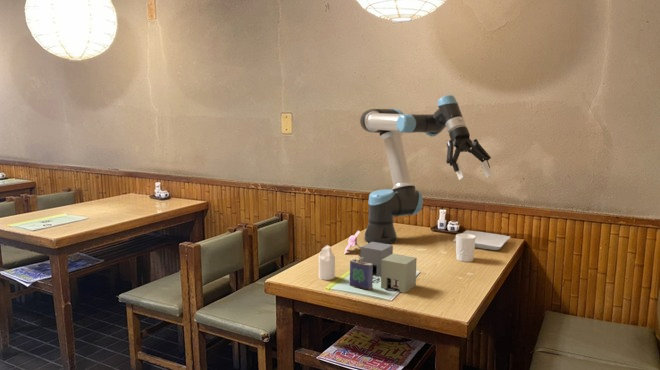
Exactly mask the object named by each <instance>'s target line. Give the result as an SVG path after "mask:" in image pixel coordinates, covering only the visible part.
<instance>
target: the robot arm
mask: <svg viewBox="0 0 660 370" xmlns="http://www.w3.org/2000/svg"><path fill="white" fill-rule="evenodd" d="M436 104H437V107H438V109H437V110H436V111H435V112H434V113H433V114H424V113H423V114H418V113H417V114H416V113H415V114H413V113H412V114H411V113H405V114H404V113H403V111H402V110H401V109H397V108H396V109H395V108H370V109H367V110H365V111H364V112H363V113H362V114H361V115H360V118H359V123H360V127H361V128H362V130H364V131H366V132H367V133H373V134H374V133H375V134H377V133H379V138H380V139H381V140H383V143H384V147H385V152H386V158H387V162H388V167H389V172H390V177H391V181H392V188H391V189H387V188H385V189H377V190H374V191H372V192H370V194H369V195H368V202H367V203H368V222H367V227H366V230H365V233H364V239H363V240H364V241H365V242H367V243H370V242H377V243H383V244H389V245H390V244H394V243H396V242H397V237H398V236H397V233H396V230H395V226H394V218H398V217H399V218H400V217H406V216H407V217H411V216H415V215H417V214H419V213H420V212H421V210H422V209H423V205H424V200H423V195H422V194H423V193H421V191H420V190H417V189H416V186H415V184H413V183H412V181H411V178H410V172H409V169H408V163H407V158H406V154H405V149H404V145H403V139H402V136H403V135H404V134H410V133H411V134H412V133H413V134H414V133H424V134H426V136H429V137H432V138H433V137H436V136H438V135H439V134H440V133H441V132H443V130H444V129H445V128H446V131H447V134H448V136H449V138H450V140H448V141H447V142H446V146H447V152H446V160H445V161H446V164H448V165H449V166H451V167H452V168H453V171H454V172H455V173H456V175H457V178H458V181H461V180H463V179H464V178H465V174H464V172H463V170H462V166H461V164H460V162H459V161H458V160H459V156H460V154H461V153H466V152H468V153H469V154H471V155H473V156H474V157H475V158H476V159H477V160H478V161H480V162H481V163H480V165H481V167H482V169H483V172H484V176H485V177H486V179H490V177H492V176H493V174H492V171H491V166H490V163H489V160H491V159H492V157H491V156H490V154H489V153H488V152H487V151H486V150H485V149H484V147H483V146H482V145H481V144H480V143H479V141H478V139H477V138H475V139H473V140H471V138H470V137H471V136H470V132H469V130H468V127H467V125H466V122H465V119H464V116H463V114H462V111H461V109H460V106H459V102H458V101H457V99H456V97H455V96H454V95H452V94H450V95H449V94H446V95H444V96H443V95H442V96H441V97H440V98H439V99H438V100H437V103H436ZM454 149H455V150H454Z"/></svg>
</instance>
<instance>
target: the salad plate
mask: <svg viewBox="0 0 660 370" xmlns="http://www.w3.org/2000/svg"><path fill="white" fill-rule="evenodd" d="M461 234H472V235H475V236H476V240H475V249H480V250H481V249H482V250H489V251H498V250H500V249H502V247H503V246H504V244H506V243H507V242H508V241H509V240H510V239H511V236H510V235H503V234H499V233H498V234H497V233H491V232H485V231H475V230H468V229H467V230H465V231H463V232H462V233H461ZM453 242H454V243H455V244H456V237H455V238H454V239H453Z"/></svg>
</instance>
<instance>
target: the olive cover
mask: <svg viewBox="0 0 660 370" xmlns="http://www.w3.org/2000/svg"><path fill="white" fill-rule="evenodd" d="M417 259H418V258H417V257H414V256H410V255H409V256H408V255H404V254H398V253H393V254H391V255H390V256H388V257H386V258H384V259H382V262H381V277H380V288H381V289H384V288H385V290H387V289H388V285H391V279H395V280H400V289H399V292H400V293H403V294H406V293H408V292H409V291H410V290H411V289H412V288H414V287H415V286H416V284H417Z"/></svg>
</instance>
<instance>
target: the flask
mask: <svg viewBox="0 0 660 370" xmlns="http://www.w3.org/2000/svg"><path fill="white" fill-rule="evenodd" d="M363 259H364V258H363V257H362V258H361V257H360V256H359V257H357V259H356V258H354V259H350V261H349V286H351V287H353V288H356V289H361V290H366V291H367V290H368V291H372V290H373V273H374V272H373V270H374V268H373V264H371V263H366V262H363Z"/></svg>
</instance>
